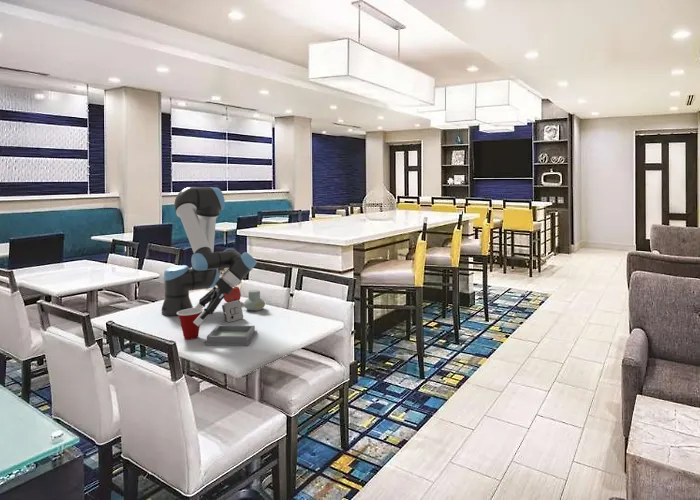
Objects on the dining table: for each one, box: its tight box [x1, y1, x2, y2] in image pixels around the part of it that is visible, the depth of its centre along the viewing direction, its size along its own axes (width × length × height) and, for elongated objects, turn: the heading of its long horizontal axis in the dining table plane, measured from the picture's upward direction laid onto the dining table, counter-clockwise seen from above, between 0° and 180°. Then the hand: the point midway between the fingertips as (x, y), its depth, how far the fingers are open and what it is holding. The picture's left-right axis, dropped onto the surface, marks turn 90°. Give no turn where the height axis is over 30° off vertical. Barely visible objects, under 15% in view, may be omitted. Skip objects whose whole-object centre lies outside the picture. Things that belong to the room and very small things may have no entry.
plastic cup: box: [177, 307, 204, 340], centre depth 212 cm, size 11×11×12 cm
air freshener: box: [243, 289, 266, 312], centre depth 259 cm, size 11×8×10 cm
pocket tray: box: [203, 324, 258, 347], centre depth 211 cm, size 18×18×4 cm
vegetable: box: [223, 286, 242, 303], centre depth 273 cm, size 11×10×10 cm
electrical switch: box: [221, 300, 244, 323], centre depth 240 cm, size 9×5×9 cm, turn 141°
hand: (192, 320), depth 211 cm, fingers open, 13 cm apart
